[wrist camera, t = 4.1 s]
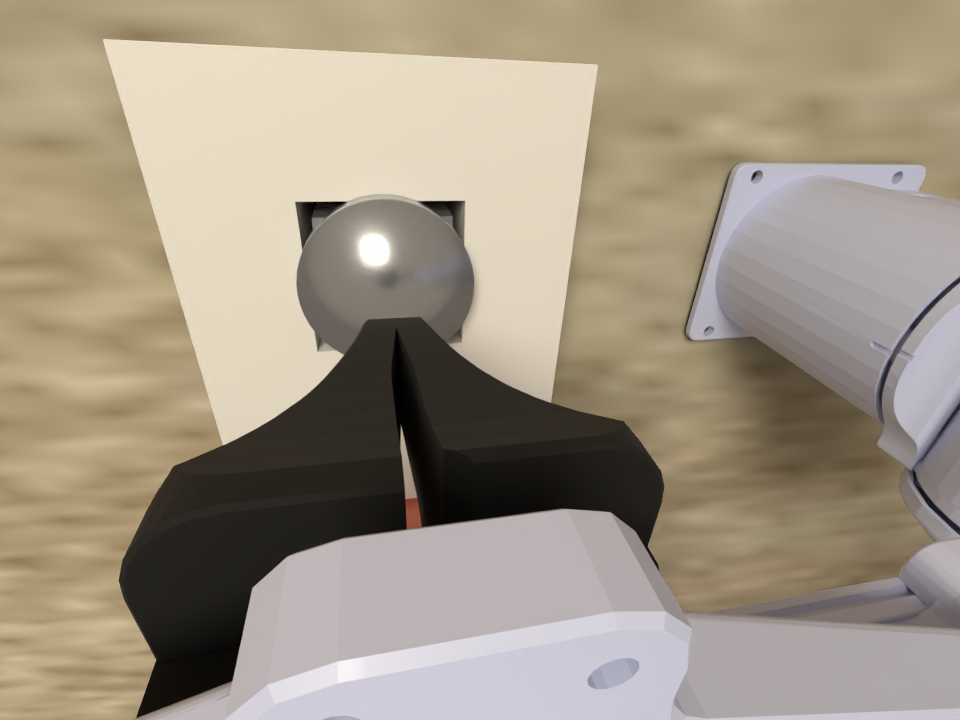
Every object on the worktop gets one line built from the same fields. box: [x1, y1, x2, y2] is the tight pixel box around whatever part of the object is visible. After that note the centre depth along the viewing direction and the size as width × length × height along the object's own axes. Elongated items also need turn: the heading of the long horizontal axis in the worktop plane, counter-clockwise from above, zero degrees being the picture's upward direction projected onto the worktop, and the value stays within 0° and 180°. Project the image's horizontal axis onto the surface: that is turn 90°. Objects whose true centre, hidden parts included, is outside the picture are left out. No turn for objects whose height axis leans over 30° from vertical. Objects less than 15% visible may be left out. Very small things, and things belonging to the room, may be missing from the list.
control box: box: [103, 39, 598, 499], centre depth 20 cm, size 12×24×4 cm, turn 178°
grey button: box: [296, 194, 474, 354], centre depth 16 cm, size 5×5×5 cm
